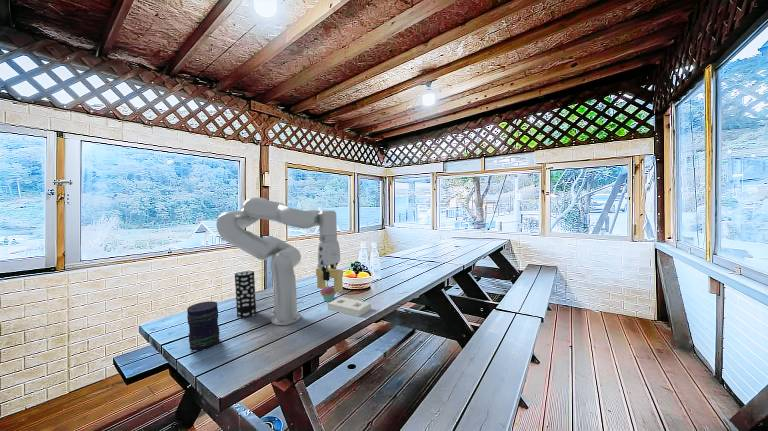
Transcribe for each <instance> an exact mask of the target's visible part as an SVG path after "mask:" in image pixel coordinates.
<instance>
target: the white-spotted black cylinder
mask: <svg viewBox="0 0 768 431" xmlns="http://www.w3.org/2000/svg"><path fill="white" fill-rule="evenodd" d="M255 281H256V280H255V271H253V270H246V271H240V272H236V273H234V284H235V286H234V287H235V301H236V302H235V303H236V304H235V305H236V317H237V318H238V317H240V318H239V319H247V318H251V317H253V316H255V315H256V314H257V301H256V283H255ZM250 316H251V317H250ZM246 317H247V318H246Z"/></svg>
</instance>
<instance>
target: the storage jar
mask: <svg viewBox="0 0 768 431" xmlns="http://www.w3.org/2000/svg"><path fill="white" fill-rule="evenodd" d="M186 310H187V316H186V317H187V324H188V330H189V332H188V343H189V350H190V349H192V350H203V349H207V350H209V349H208V348H210V349H212V348H214V347H215V345H216V344H217V345H219V343H220V342H219V341H220V340H221V339H220V336H221V335H220V327H219V322H218V319H219V309H218V302H217V301H203V302H198V303H194V304H191V305H190V306H188V307H187V309H186ZM217 345H216V346H217ZM213 346H214V347H213ZM211 347H212V348H211ZM192 350H191V351H192ZM203 351H204V350H203Z"/></svg>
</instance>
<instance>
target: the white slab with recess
mask: <svg viewBox="0 0 768 431" xmlns="http://www.w3.org/2000/svg"><path fill="white" fill-rule="evenodd" d="M327 310H329V311H334V312H337V313H341V314H346V315H350V316H355V317H362V315H364V314H366V313H367V312H369V311H370V310H372V302H367V301H363V300H357V299H352V298H347V297H342V296H339V297H338V298H337V297H336V299H333V300H332V301H328V302H327Z"/></svg>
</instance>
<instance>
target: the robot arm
mask: <svg viewBox="0 0 768 431" xmlns="http://www.w3.org/2000/svg"><path fill="white" fill-rule="evenodd" d="M262 219H263V220H267V221H272V222H277V223H279V224H283V225H284V226H288V227H293V228H299V229H304V230H305V229H306V230H307V229H311V228H314V227H319V229H318V230H319V238H318V241H319V242H318V249H317V250H318V251H317V262H318V263H317V265H316V266H317V267H316V268H320V269H321V270H322V271H323V280H325V282H326V281H328V282H329V281H330V279H331V278H330V277H329V272H328V268H331V269H337V266H338V264H339V263H340V261H341V250H340V248H341V247H340V243H339V240H338V229H337V228H338V227H337V225H338V224H337V223H338V222H337V212H336V211H335V210H329V209H327V210H317V209H316V210H315V209H309V210H302V209H297V208H292V207H288V206H286V205H285V204H284V203H282V202H278V201H273V200H268V199H267V198H265V197H250V198H247V199H246V200H245V201H244V203H243V205H242V209H240V210H232V211H231V210H230V211H226V212H223V213H221V214H220V215H219V216H218V217H217V219H216V223H215V224H216V230H217V233H218V234H219V235H220V237H221V238H222V239H223V241H225V242H227V243H228V244H230V245H231V246H234V247H235V248H238V249H239V250H241V251H243V252H245V253H247V254H248V255H250V256H252V257H253V258H255V259H257V260H261V261H264V260H268V259H270V269H271V275H272V281H273V282H272V283H273V284H272V286H273V301H274V302H273V303H274V307H273V309H271V311H270V313H272V314H273V317H271V324H272V325H274V326H289V325H292V324H295V323H297V322H298V321H300V320H301V318H302V314H301V313H300V312H298V304H297V303H298V302H297V283H296V281H297V279H296V275H295V274H296V273H295V270H294V268H295V267H296V266H297V265H299V263H300V261H302V260H301V259H302V255H301V252H300V251H299V250H298V248H296V247H295V246H294V245H291V244H289V243H287V242H285V241H283V240H282V239H279V238H278V237H275V236H266V237H260V236H259V235H257V234H255V233H253V232H251V231H249V230H246V229H245V228H247V227H249V226H251V225H254V223H256V222H258V221H260V220H262Z"/></svg>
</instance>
